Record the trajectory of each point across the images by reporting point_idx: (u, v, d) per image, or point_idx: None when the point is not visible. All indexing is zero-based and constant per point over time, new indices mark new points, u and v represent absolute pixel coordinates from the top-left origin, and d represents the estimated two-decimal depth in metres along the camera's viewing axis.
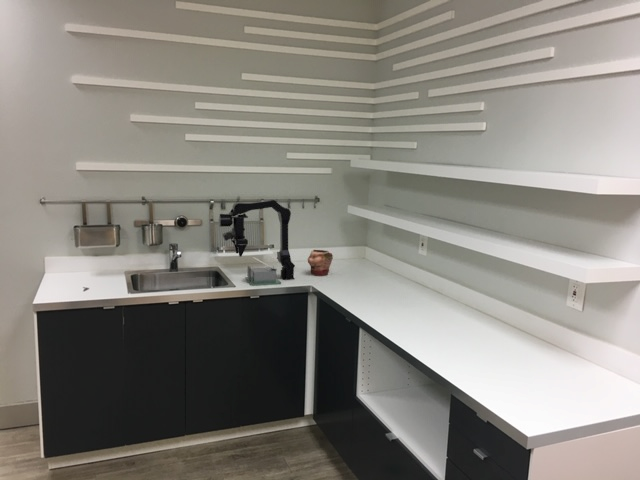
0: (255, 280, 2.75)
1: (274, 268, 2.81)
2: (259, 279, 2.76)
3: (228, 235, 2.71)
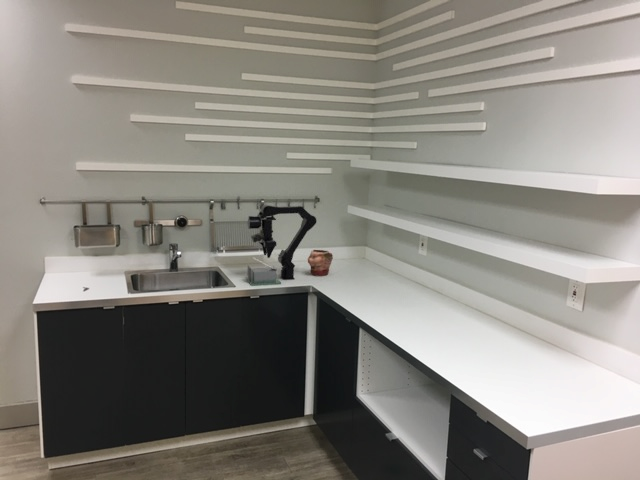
0: (255, 280, 2.75)
1: (274, 268, 2.81)
2: (259, 279, 2.76)
3: (257, 237, 2.76)
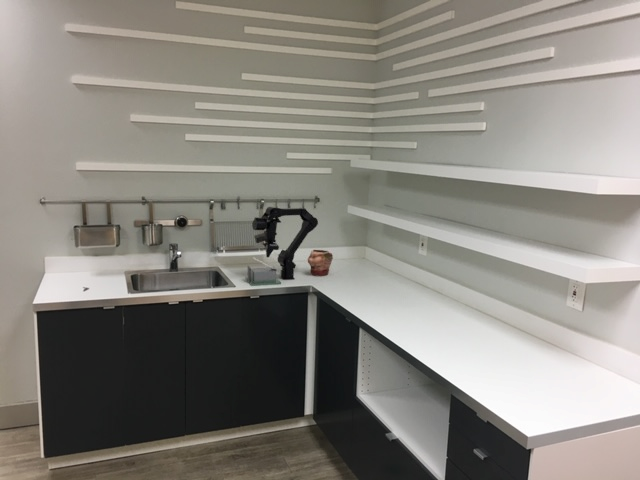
0: (255, 280, 2.75)
1: (274, 268, 2.81)
2: (259, 279, 2.76)
3: (260, 239, 2.76)
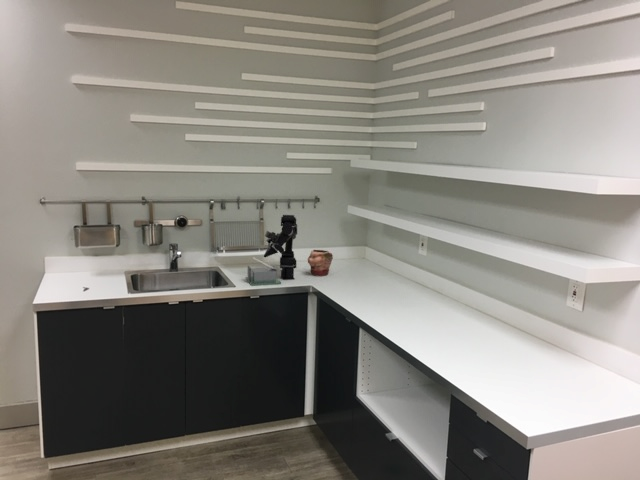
0: (255, 280, 2.75)
1: (274, 268, 2.81)
2: (259, 279, 2.76)
3: (273, 235, 2.75)
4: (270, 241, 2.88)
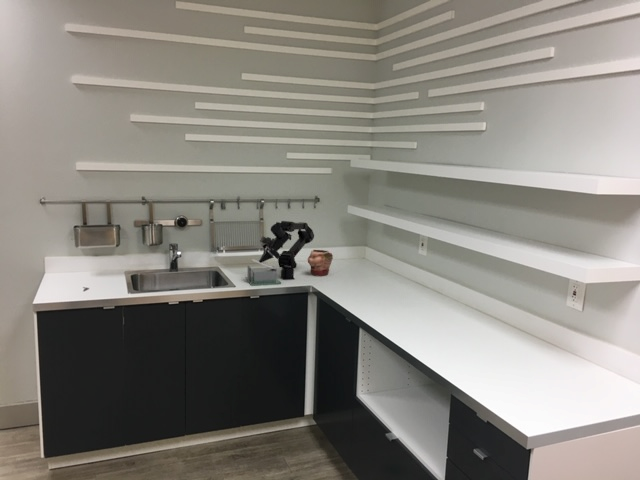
0: (255, 280, 2.75)
1: (274, 268, 2.81)
2: (259, 279, 2.76)
3: (268, 240, 2.74)
4: (265, 246, 2.88)
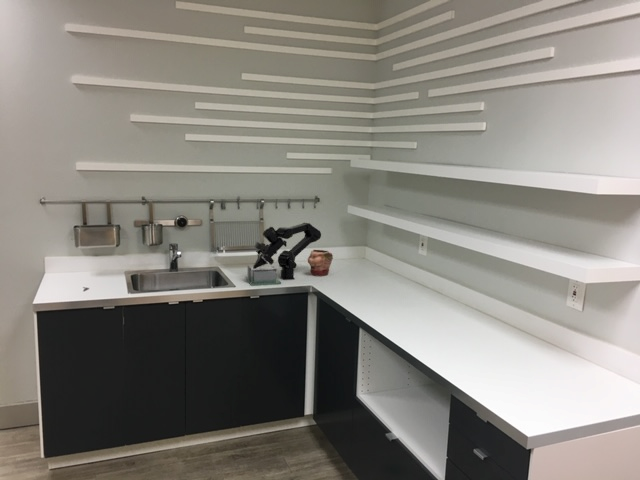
0: (255, 280, 2.75)
1: (273, 268, 2.81)
2: (259, 279, 2.76)
3: (262, 246, 2.74)
4: (260, 252, 2.87)
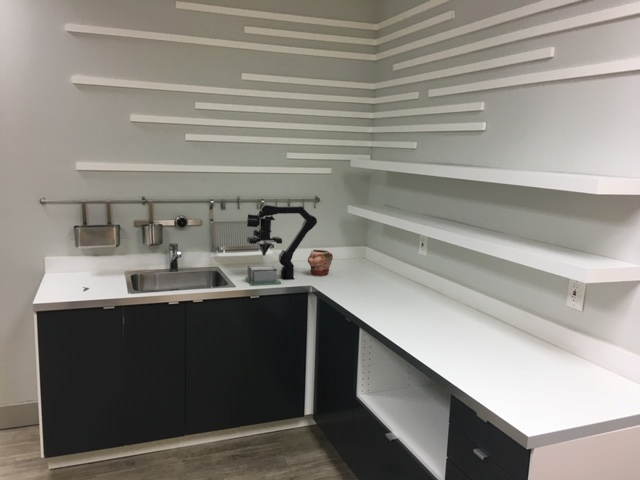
0: (255, 280, 2.75)
1: (273, 268, 2.81)
2: (259, 279, 2.76)
3: (253, 233, 2.88)
4: None
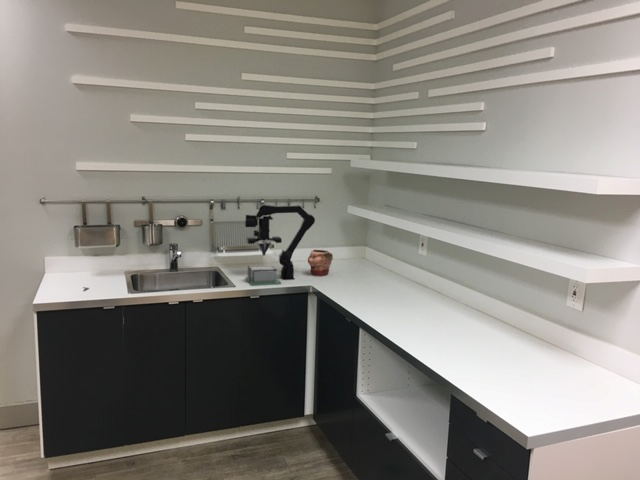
0: (255, 280, 2.75)
1: (273, 268, 2.81)
2: (259, 279, 2.76)
3: None
4: None
